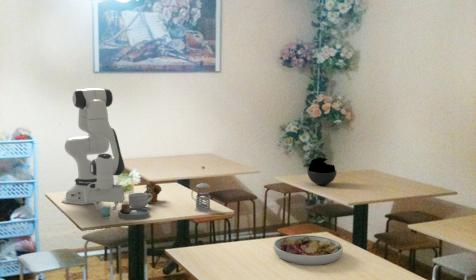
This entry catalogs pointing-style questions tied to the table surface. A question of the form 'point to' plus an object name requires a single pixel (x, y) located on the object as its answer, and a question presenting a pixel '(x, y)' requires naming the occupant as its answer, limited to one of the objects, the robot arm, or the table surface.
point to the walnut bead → (125, 208)
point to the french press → (202, 198)
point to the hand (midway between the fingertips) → (106, 209)
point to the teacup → (139, 199)
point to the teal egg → (105, 211)
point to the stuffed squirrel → (152, 191)
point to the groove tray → (134, 213)
